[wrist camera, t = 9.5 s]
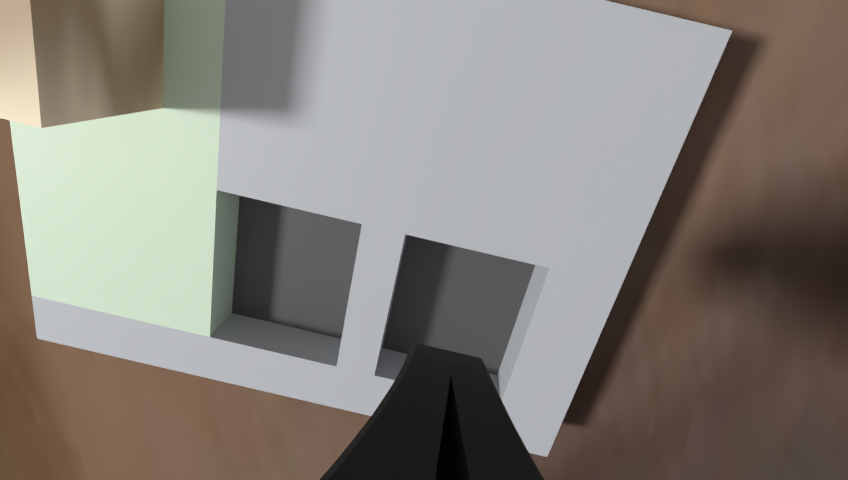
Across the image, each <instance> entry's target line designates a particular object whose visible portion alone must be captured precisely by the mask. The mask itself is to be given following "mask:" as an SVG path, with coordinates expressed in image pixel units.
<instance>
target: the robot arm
mask: <svg viewBox="0 0 848 480" xmlns="http://www.w3.org/2000/svg"><path fill="white" fill-rule="evenodd" d="M320 480H544V479H543V477H542V475H541V474H540V472H539V470H538V468H537V467H536V465H535V463H534V461H533V459H532V458H531V456H530V454H529V452H528V450H527V448H526V447H525V445H524V443H523V441H522V439H521V437H520V435H519V434H518V432H517V430H516V428H515V426H514V424H513V422H512V420H511V418H510V416H509V414H508V412H507V410H506V408H505V406H504V404H503V402H502V400H501V398H500V396H499V394H498V392H497V389H496V387H495V385H494V383H493V381H492V379H491V376H490V374H489V372H488V370H487V368H486V365H485V364H484V362H483V360H482V359H481V358H478V357H474V356H470V355H465V354H461V353H457V352H453V351H448V350H444V349H440V348H436V347H431V346H427V345H423V344H418V343H416V344H414V345H412V346H410V347H409V350H408V354H407V357H406V359H405V362H404V364H403V366H402V368H401V370H400V372H399V374H398V376H397V377H396V379H395V381H394V383H393V384H392V386H391V388H390V389H389V391H388V392H387V394H386V395H385V397H384V398H383V400H382V401H381V403H380V404H379V406H378V407H377V409H376V410H375V412H374V413H373V415H372V416H371V417H370V419H369V420H368V421H367V423H366V424H365V425H364V427H363V428H362V429H361V430H360V432H359V433H358V434H357V435H356V437H355V438H354V439H353V440H352V442H351V443H350V444H349V446H348V447H347V448H346V449H345V451H344V452H343V453H342V454H341V456H340V457H339V458H338V459H337V460H336V462H335V463H334V464H333V465H332V466H331V467H330V468H329V470H328V471H327V472H326V473H325V474H324V475H323V476H322V478H321V479H320Z"/></svg>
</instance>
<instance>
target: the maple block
mask: <svg viewBox="0 0 848 480" xmlns="http://www.w3.org/2000/svg"><path fill="white" fill-rule="evenodd" d="M163 60H164V0H0V118H2V119H7V120H11V121H15V122H19V123H23V124H27V125H31V126H35V127H39V128H45V127H51V126H57V125H63V124H69V123H76V122H82V121H88V120H94V119H100V118H106V117H112V116H118V115H124V114H130V113H136V112H142V111H149V110H155V109H161V108H163Z"/></svg>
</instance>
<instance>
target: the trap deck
mask: <svg viewBox="0 0 848 480" xmlns="http://www.w3.org/2000/svg"><path fill="white" fill-rule="evenodd" d="M731 33H732V30H727V29H723V28H719V27H715V26H711V25H706V24H702V23H698V22H694V21H690V20H686V19H681V18H677V17H673V16H669V15H665V14H660V13H656V12H652V11H648V10H644V9H639V8H635V7H631V6H627V5H623V4H618V3H614V2H610V1H606V0H164V60H163V108H161V109H155V110H149V111H142V112H136V113H130V114H124V115H118V116H112V117H106V118H100V119H94V120H88V121H82V122H76V123H69V124H63V125H57V126H51V127H45V128H39V127H35V126H31V125H27V124H23V123H19V122H15V121H11V120H10V126H11V134H12V142H13V150H14V158H15V166H16V174H17V182H18V190H19V198H20V206H21V214H22V222H23V230H24V238H25V246H26V254H27V262H28V270H29V278H30V286H31V293H32V301H33V309H34V317H35V325H36V333H37V339H42V340H46V341H50V342H55V343H59V344H63V345H68V346H72V347H76V348H81V349H85V350H89V351H93V352H98V353H102V354H106V355H111V356H115V357H119V358H124V359H128V360H132V361H136V362H141V363H145V364H149V365H154V366H158V367H162V368H167V369H171V370H175V371H180V372H184V373H188V374H192V375H197V376H201V377H205V378H210V379H214V380H218V381H223V382H227V383H231V384H236V385H240V386H244V387H248V388H253V389H257V390H261V391H266V392H270V393H274V394H279V395H283V396H287V397H291V398H296V399H300V400H304V401H309V402H313V403H317V404H322V405H326V406H330V407H335V408H339V409H343V410H347V411H352V412H356V413H360V414H365V415H369V416H372V415H373V413H374V412H375V410H376V409H377V407H378V406H379V404H380V403H381V401H382V400H383V398H384V397H385V395H386V394H387V392H388V391H389V389H390V388H391V386H392V384H393V383H394V381H395V379H396V377H397V376H398V374H399V372H400V370H401V368H402V366H403V364H404V362H405V359H406V357H407V354H408V350H409V347H410V346H412V345H414V344H416V343H418V344H423V345H427V346H431V347H436V348H440V349H444V350H448V351H453V352H457V353H461V354H465V355H470V356H474V357H478V358H481V359H482V360H483V362H484V364H485V365H486V368H487V370H488V372H489V374H490V376H491V379H492V381H493V383H494V385H495V387H496V389H497V392H498V394H499V396H500V398H501V400H502V402H503V404H504V406H505V408H506V410H507V412H508V414H509V416H510V418H511V420H512V422H513V424H514V426H515V428H516V430H517V432H518V434H519V435H520V437H521V439H522V441H523V443H524V445H525V447H526V448H527V450H528V452H529V453H533V454H537V455H541V456H546V457H547V456H548V454H549V451H550V449H551V447H552V444H553V442H554V440H555V437H556V435H557V433H558V431H559V428H560V426H561V424H562V421H563V419H564V417H565V414H566V412H567V410H568V408H569V405H570V403H571V401H572V398H573V396H574V394H575V391H576V389H577V387H578V385H579V382H580V380H581V378H582V375H583V373H584V371H585V369H586V366H587V364H588V362H589V359H590V357H591V355H592V352H593V350H594V348H595V346H596V343H597V341H598V339H599V336H600V334H601V332H602V329H603V327H604V325H605V323H606V320H607V318H608V316H609V313H610V311H611V309H612V306H613V304H614V302H615V300H616V297H617V295H618V293H619V290H620V288H621V286H622V283H623V281H624V279H625V277H626V274H627V272H628V270H629V267H630V265H631V263H632V260H633V258H634V256H635V254H636V251H637V249H638V247H639V244H640V242H641V240H642V237H643V235H644V233H645V231H646V228H647V226H648V224H649V221H650V219H651V217H652V214H653V212H654V210H655V208H656V205H657V203H658V201H659V198H660V196H661V194H662V191H663V189H664V187H665V185H666V182H667V180H668V178H669V175H670V173H671V171H672V168H673V166H674V164H675V162H676V159H677V157H678V155H679V152H680V150H681V148H682V145H683V143H684V141H685V139H686V136H687V134H688V132H689V129H690V127H691V125H692V123H693V120H694V118H695V116H696V113H697V111H698V109H699V106H700V104H701V102H702V100H703V97H704V95H705V93H706V90H707V88H708V86H709V83H710V81H711V79H712V77H713V74H714V72H715V70H716V67H717V65H718V63H719V60H720V58H721V56H722V54H723V51H724V49H725V47H726V44H727V42H728V40H729V37H730V35H731Z"/></svg>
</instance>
